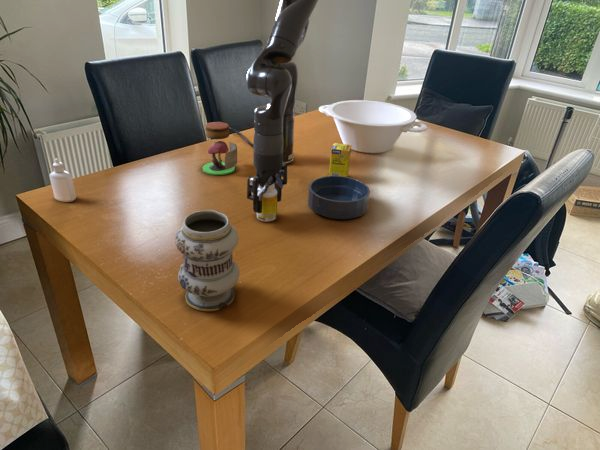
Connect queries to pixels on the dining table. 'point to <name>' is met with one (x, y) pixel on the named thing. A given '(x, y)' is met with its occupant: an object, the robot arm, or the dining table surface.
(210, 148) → the mushroom terrarium
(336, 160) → the supplement box
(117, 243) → the dining table surface
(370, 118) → the white wash basin
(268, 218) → the supplement bottle
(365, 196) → the bowl
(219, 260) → the apothecary jar
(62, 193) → the eye dropper bottle
